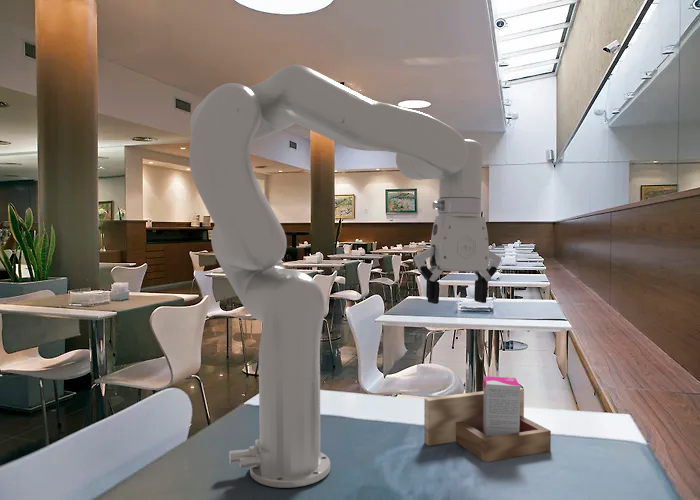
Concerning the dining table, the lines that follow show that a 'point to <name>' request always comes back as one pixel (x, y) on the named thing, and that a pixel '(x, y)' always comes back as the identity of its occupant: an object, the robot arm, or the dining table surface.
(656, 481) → the dining table surface
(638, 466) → the dining table surface
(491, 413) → the supplement box
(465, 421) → the wooden tray holder
